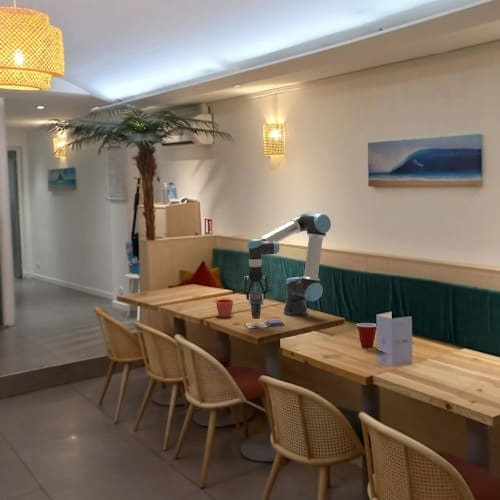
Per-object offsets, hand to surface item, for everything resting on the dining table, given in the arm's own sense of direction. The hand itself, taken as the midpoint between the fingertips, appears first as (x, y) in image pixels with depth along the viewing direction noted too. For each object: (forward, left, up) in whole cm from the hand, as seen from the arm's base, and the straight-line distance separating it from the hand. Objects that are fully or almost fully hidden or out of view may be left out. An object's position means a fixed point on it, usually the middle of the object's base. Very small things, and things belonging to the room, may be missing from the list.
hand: (255, 304), depth 369 cm
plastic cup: (-46, +58, -13) cm, 75 cm away
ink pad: (-12, -1, -13) cm, 17 cm away
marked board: (0, 0, -13) cm, 13 cm away
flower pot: (+13, -32, -13) cm, 37 cm away
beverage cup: (0, 0, -8) cm, 8 cm away
